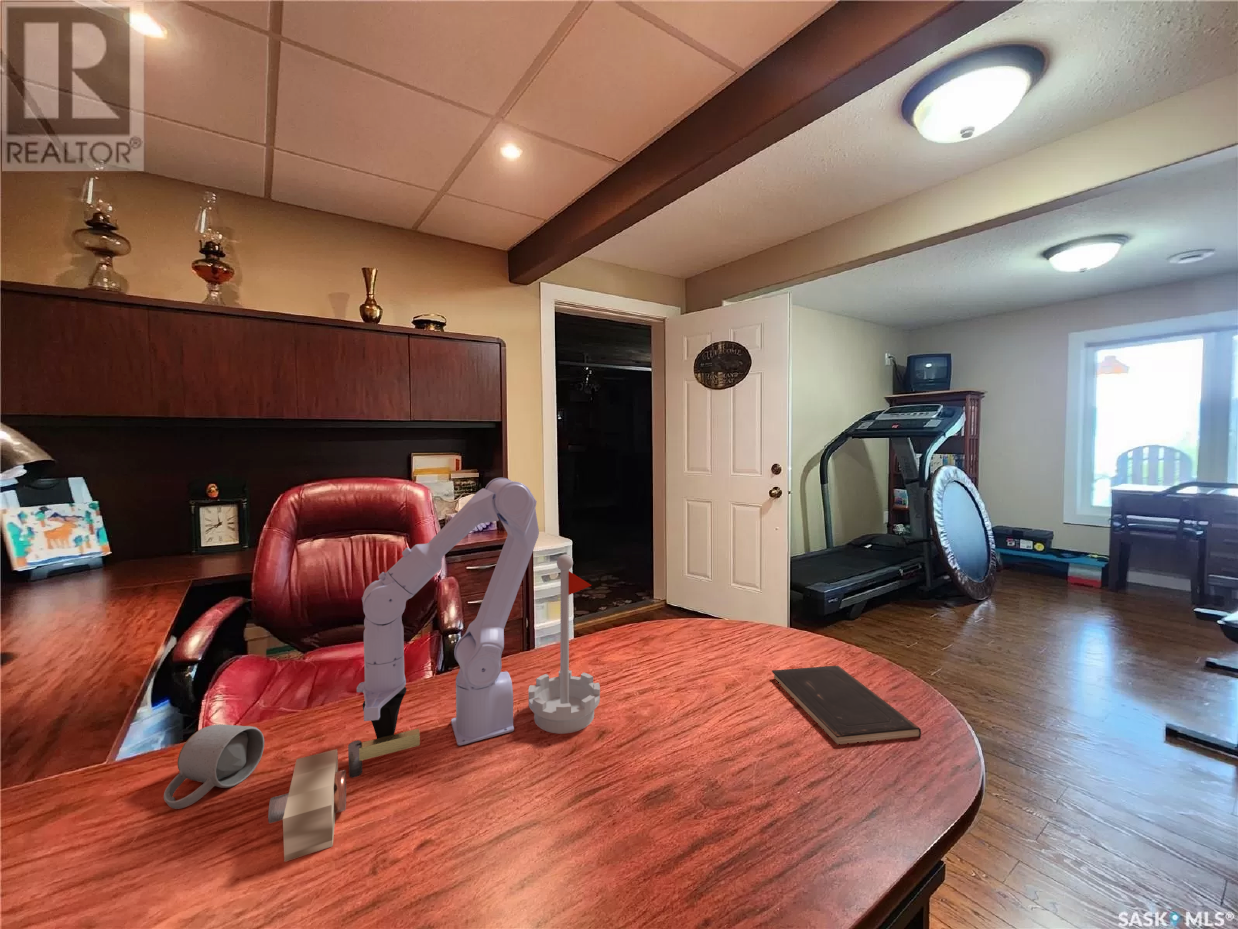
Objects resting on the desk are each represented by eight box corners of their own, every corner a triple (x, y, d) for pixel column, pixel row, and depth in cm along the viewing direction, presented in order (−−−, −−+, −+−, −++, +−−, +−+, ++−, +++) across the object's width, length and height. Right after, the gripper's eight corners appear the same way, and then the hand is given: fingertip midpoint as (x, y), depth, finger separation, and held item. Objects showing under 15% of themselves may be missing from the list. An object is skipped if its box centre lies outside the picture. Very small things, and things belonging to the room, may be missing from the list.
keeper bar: (419, 752, 78) (418, 725, 78) (420, 759, 77) (419, 731, 76) (349, 771, 74) (348, 742, 74) (348, 779, 72) (347, 749, 72)
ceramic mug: (224, 756, 77) (221, 710, 76) (267, 764, 75) (264, 717, 75) (147, 807, 67) (143, 754, 66) (194, 818, 65) (191, 763, 64)
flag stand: (515, 729, 85) (514, 560, 83) (547, 692, 97) (547, 544, 96) (584, 743, 81) (585, 567, 79) (609, 703, 94) (610, 549, 92)
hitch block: (338, 784, 71) (337, 749, 71) (332, 846, 60) (331, 804, 60) (297, 795, 69) (296, 759, 69) (284, 862, 58) (282, 819, 58)
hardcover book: (836, 749, 81) (836, 735, 81) (771, 680, 104) (771, 670, 104) (921, 740, 84) (921, 727, 84) (839, 675, 106) (840, 665, 106)
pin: (346, 794, 68) (345, 762, 68) (344, 818, 64) (343, 784, 64) (274, 815, 65) (273, 781, 64) (267, 842, 60) (266, 805, 60)
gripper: (371, 639, 84) (373, 715, 84) (340, 681, 69) (342, 772, 70) (414, 636, 85) (416, 711, 86) (392, 676, 71) (394, 766, 72)
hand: (386, 738), depth 78 cm, fingers closed
